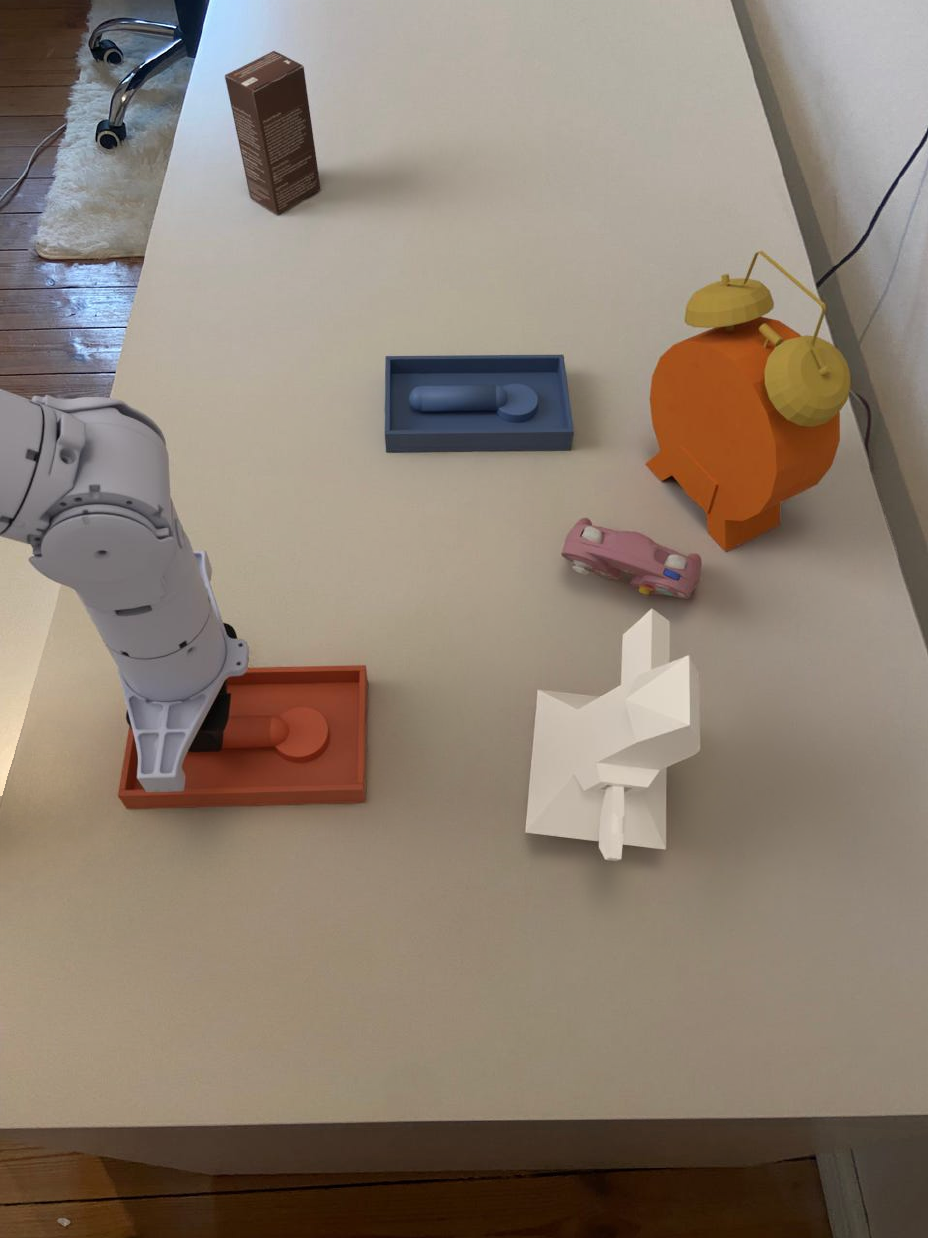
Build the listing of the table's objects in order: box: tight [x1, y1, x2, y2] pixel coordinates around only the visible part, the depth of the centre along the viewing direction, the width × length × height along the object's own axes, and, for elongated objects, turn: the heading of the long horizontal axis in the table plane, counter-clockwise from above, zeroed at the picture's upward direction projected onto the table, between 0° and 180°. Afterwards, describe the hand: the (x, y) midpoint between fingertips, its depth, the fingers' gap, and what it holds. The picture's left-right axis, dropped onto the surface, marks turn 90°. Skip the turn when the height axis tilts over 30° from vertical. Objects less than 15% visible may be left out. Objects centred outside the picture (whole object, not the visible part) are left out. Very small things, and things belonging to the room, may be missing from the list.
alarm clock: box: [645, 250, 851, 553], centre depth 67 cm, size 13×6×20 cm, turn 31°
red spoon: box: [222, 707, 330, 762], centre depth 61 cm, size 10×4×2 cm, turn 92°
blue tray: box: [384, 354, 575, 453], centre depth 78 cm, size 15×9×2 cm, turn 92°
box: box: [224, 50, 321, 215], centre depth 90 cm, size 6×4×12 cm
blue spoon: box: [409, 384, 538, 422], centre depth 78 cm, size 10×4×2 cm, turn 92°
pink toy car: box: [560, 517, 703, 599], centre depth 68 cm, size 10×5×7 cm, turn 68°
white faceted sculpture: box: [525, 608, 701, 862], centre depth 56 cm, size 8×14×14 cm, turn 173°
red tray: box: [117, 664, 369, 810], centre depth 62 cm, size 15×9×2 cm, turn 92°
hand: (207, 730), depth 61 cm, fingers closed on red spoon, 2 cm apart
